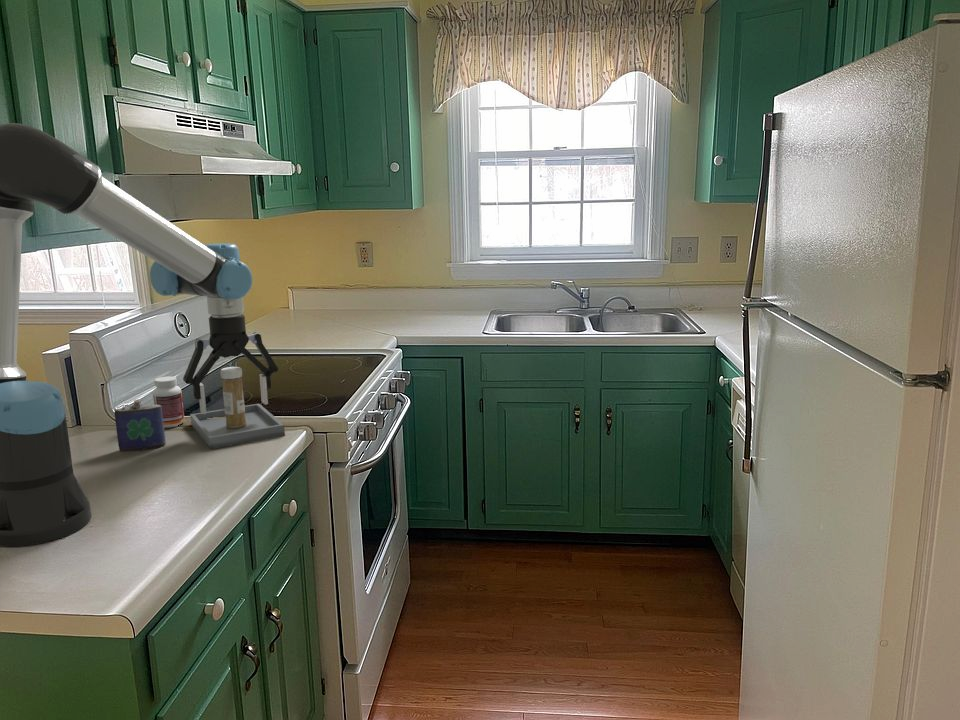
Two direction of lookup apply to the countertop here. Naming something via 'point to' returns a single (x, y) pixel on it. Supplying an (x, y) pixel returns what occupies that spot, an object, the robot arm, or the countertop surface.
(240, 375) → the sprinkles bottle
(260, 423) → the tray
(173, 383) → the pill bottle
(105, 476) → the countertop surface
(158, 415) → the flask
